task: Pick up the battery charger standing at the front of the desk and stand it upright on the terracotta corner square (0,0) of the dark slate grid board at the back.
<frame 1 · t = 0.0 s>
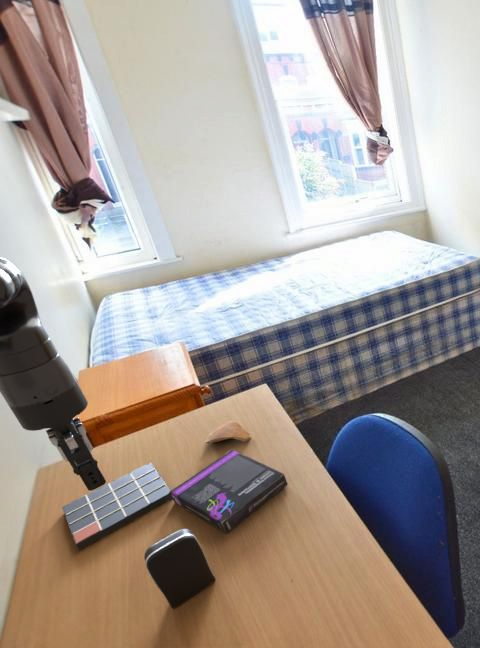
hand: (92, 475, 75), 22 cm above the table, tool pointing down, fingers open, 8 cm apart
board: (120, 504, 99), on the table
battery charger: (192, 589, 79), on the table
pottery shard: (231, 436, 118), on the table
box: (232, 494, 99), on the table
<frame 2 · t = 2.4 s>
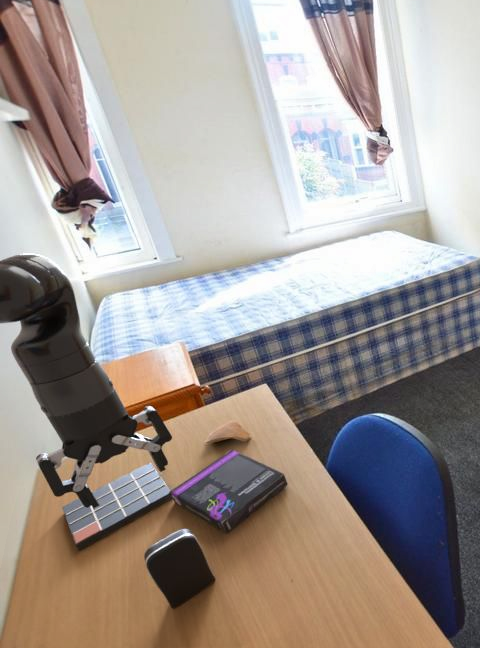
hand: (129, 486, 71), 22 cm above the table, tool pointing down, fingers open, 8 cm apart
nothing on the table moved.
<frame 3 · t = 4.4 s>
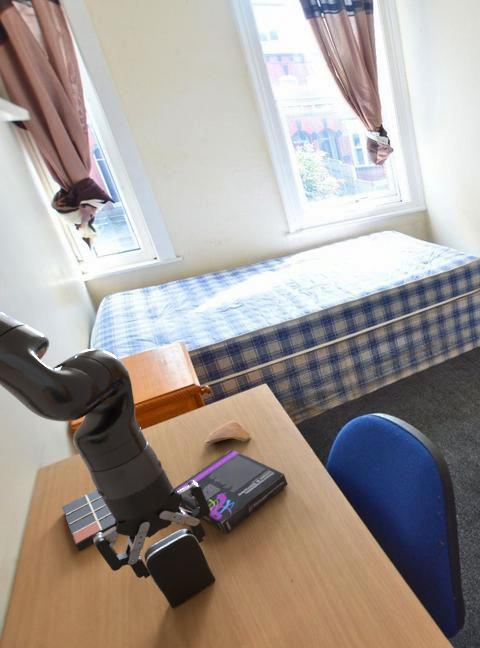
hand: (174, 556, 76), 8 cm above the table, tool pointing down, fingers closed on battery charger, 7 cm apart
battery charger: (192, 589, 79), on the table, touching gripper
everything else where it was.
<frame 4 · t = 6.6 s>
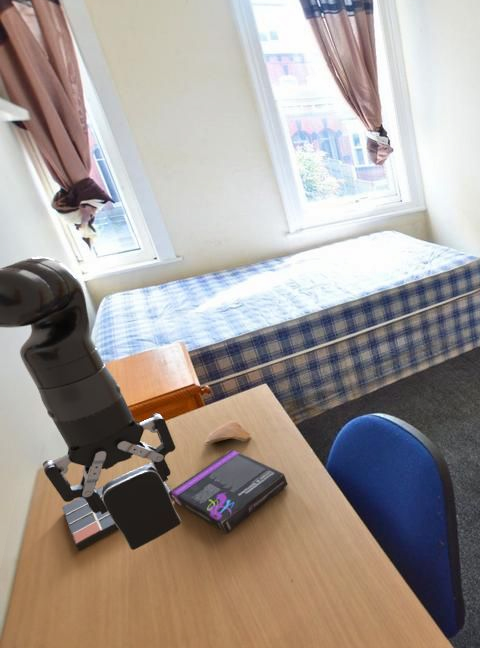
hand: (134, 494, 71), 21 cm above the table, tool pointing down, fingers closed on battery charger, 7 cm apart
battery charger: (156, 532, 74), point 13 cm above the table, touching gripper
everything else where it was.
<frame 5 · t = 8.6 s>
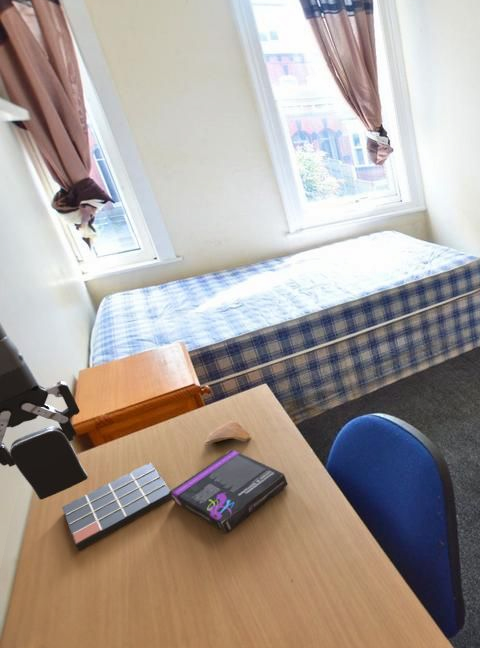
hand: (42, 451, 81), 23 cm above the table, tool pointing down, fingers closed on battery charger, 7 cm apart
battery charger: (65, 486, 84), point 15 cm above the table, touching gripper
everything else where it was.
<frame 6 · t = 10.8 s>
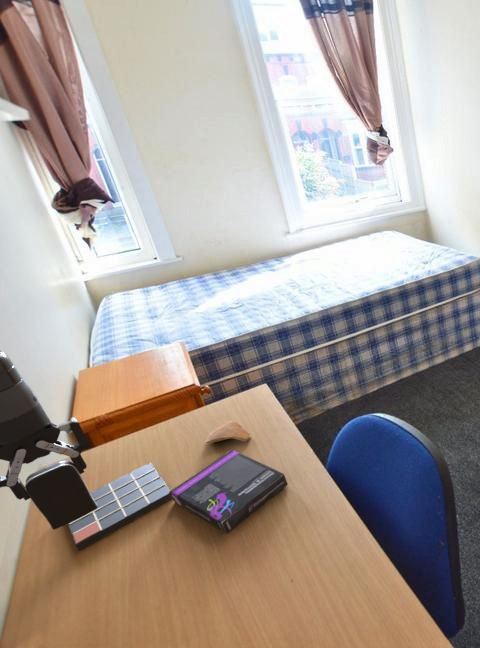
hand: (55, 484, 86), 14 cm above the table, tool pointing down, fingers closed on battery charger, 7 cm apart
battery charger: (76, 516, 89), point 6 cm above the table, touching gripper
everything else where it was.
when the fingers open (10 cm above the table, at t = 12.7 s): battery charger stays where it is, resting on board.
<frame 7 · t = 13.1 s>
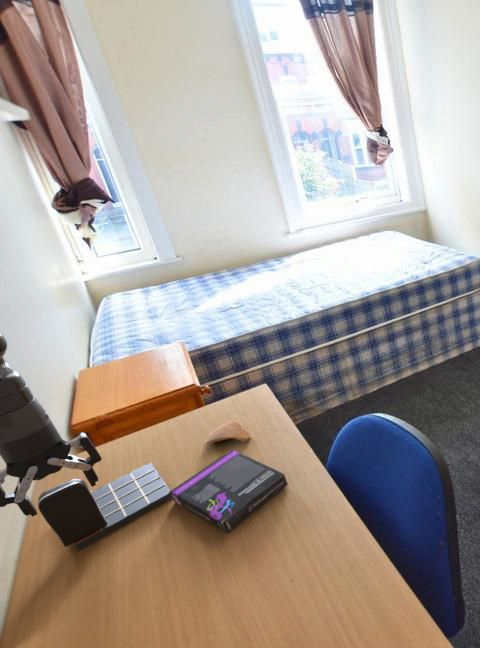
hand: (64, 498, 87), 10 cm above the table, tool pointing down, fingers open, 8 cm apart
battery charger: (87, 532, 91), point 1 cm above the table, touching board
everything else where it was.
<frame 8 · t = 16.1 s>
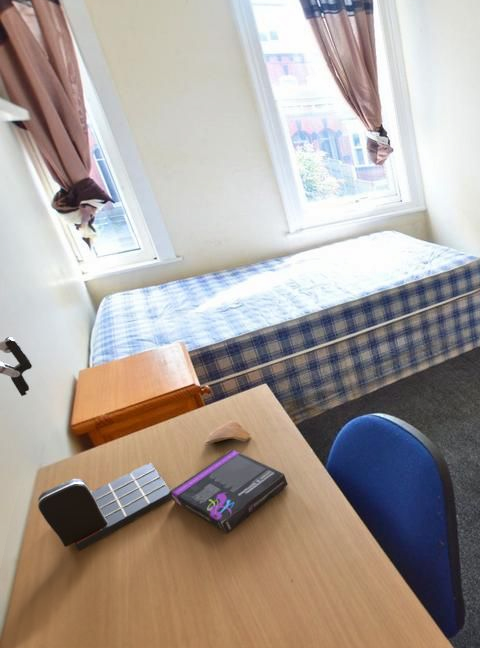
nothing on the table moved.
at the end: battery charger 0.0 cm from the target spot on the board, point 1.4 cm above the board's base; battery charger tilted 0°; the gripper is holding nothing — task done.
